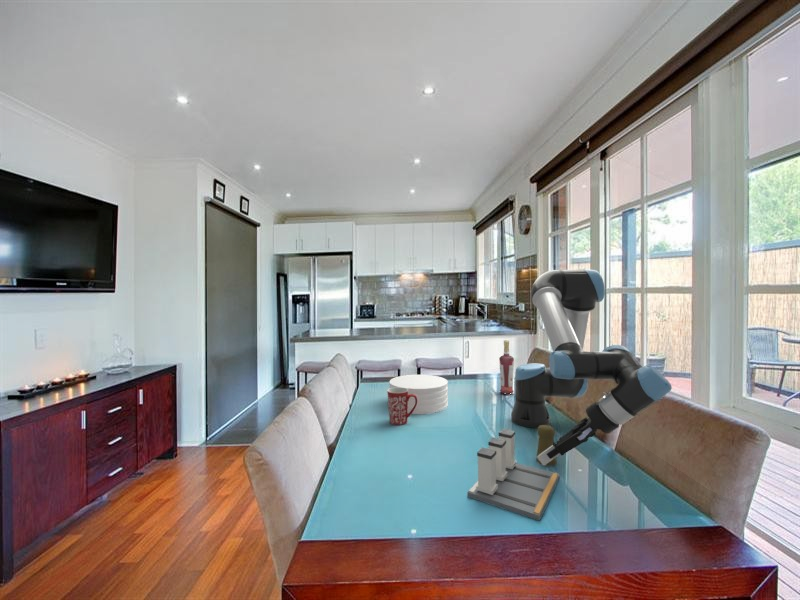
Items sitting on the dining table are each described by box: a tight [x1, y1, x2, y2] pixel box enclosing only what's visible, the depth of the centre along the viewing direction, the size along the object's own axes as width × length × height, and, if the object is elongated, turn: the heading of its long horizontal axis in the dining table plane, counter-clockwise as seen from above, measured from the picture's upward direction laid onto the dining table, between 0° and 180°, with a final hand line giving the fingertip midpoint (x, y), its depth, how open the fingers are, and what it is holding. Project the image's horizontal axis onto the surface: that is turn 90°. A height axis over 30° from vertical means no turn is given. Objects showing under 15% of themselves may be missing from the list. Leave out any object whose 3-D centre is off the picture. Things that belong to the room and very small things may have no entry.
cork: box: [535, 425, 557, 467], centre depth 112 cm, size 6×6×11 cm
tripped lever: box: [498, 428, 517, 469], centre depth 107 cm, size 4×4×10 cm
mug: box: [386, 387, 417, 426], centre depth 147 cm, size 13×9×14 cm
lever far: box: [476, 447, 498, 495], centre depth 93 cm, size 4×4×10 cm
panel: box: [467, 462, 560, 522], centre depth 97 cm, size 18×23×1 cm
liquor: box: [498, 340, 515, 395], centre depth 188 cm, size 7×7×28 cm
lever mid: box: [487, 436, 508, 481], centre depth 100 cm, size 4×4×10 cm
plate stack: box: [388, 374, 449, 415], centre depth 172 cm, size 28×28×12 cm
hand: (540, 460), depth 101 cm, fingers closed
